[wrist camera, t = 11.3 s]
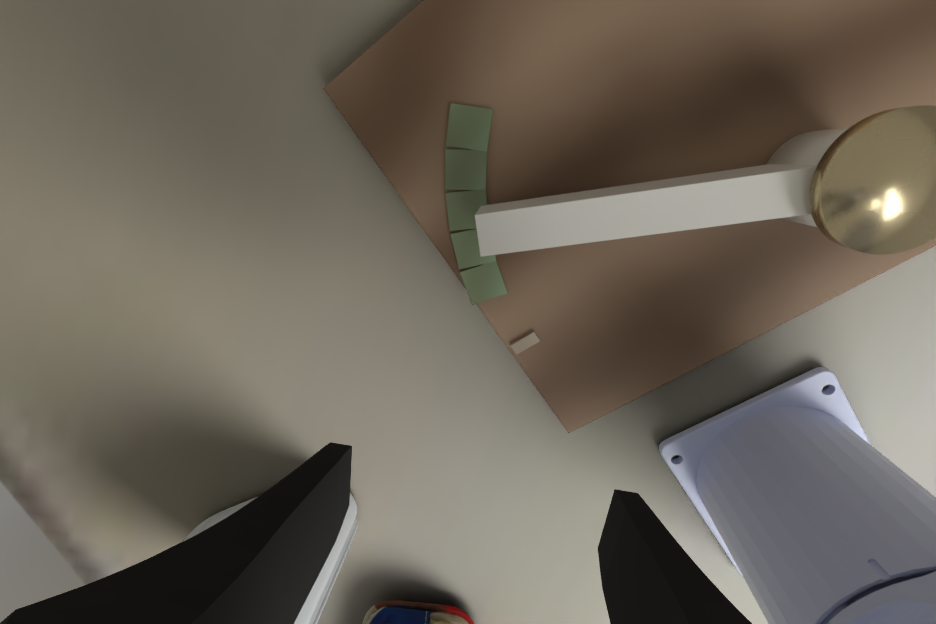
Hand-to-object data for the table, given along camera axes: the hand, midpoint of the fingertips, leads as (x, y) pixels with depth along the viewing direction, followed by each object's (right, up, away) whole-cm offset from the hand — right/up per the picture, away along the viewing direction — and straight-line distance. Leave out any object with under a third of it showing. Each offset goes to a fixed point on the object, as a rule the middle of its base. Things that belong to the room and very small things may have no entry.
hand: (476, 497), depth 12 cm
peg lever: (+7, +9, +5) cm, 13 cm away
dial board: (+8, +12, +5) cm, 16 cm away
